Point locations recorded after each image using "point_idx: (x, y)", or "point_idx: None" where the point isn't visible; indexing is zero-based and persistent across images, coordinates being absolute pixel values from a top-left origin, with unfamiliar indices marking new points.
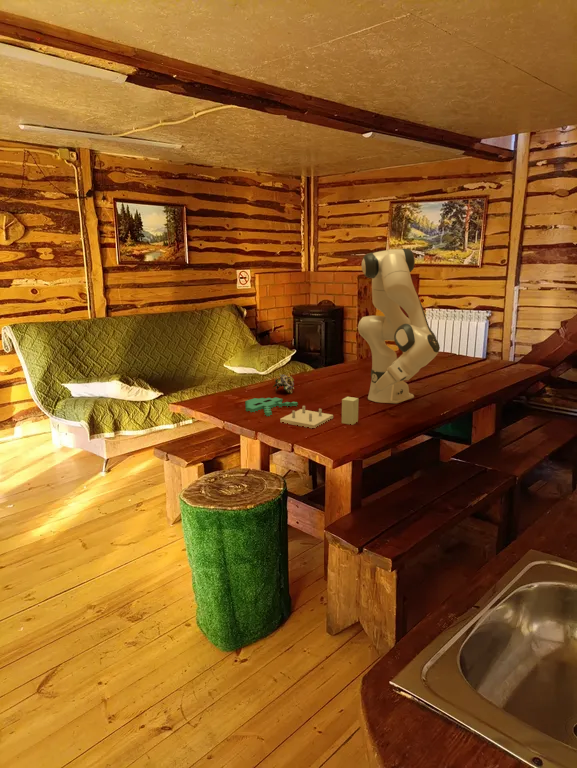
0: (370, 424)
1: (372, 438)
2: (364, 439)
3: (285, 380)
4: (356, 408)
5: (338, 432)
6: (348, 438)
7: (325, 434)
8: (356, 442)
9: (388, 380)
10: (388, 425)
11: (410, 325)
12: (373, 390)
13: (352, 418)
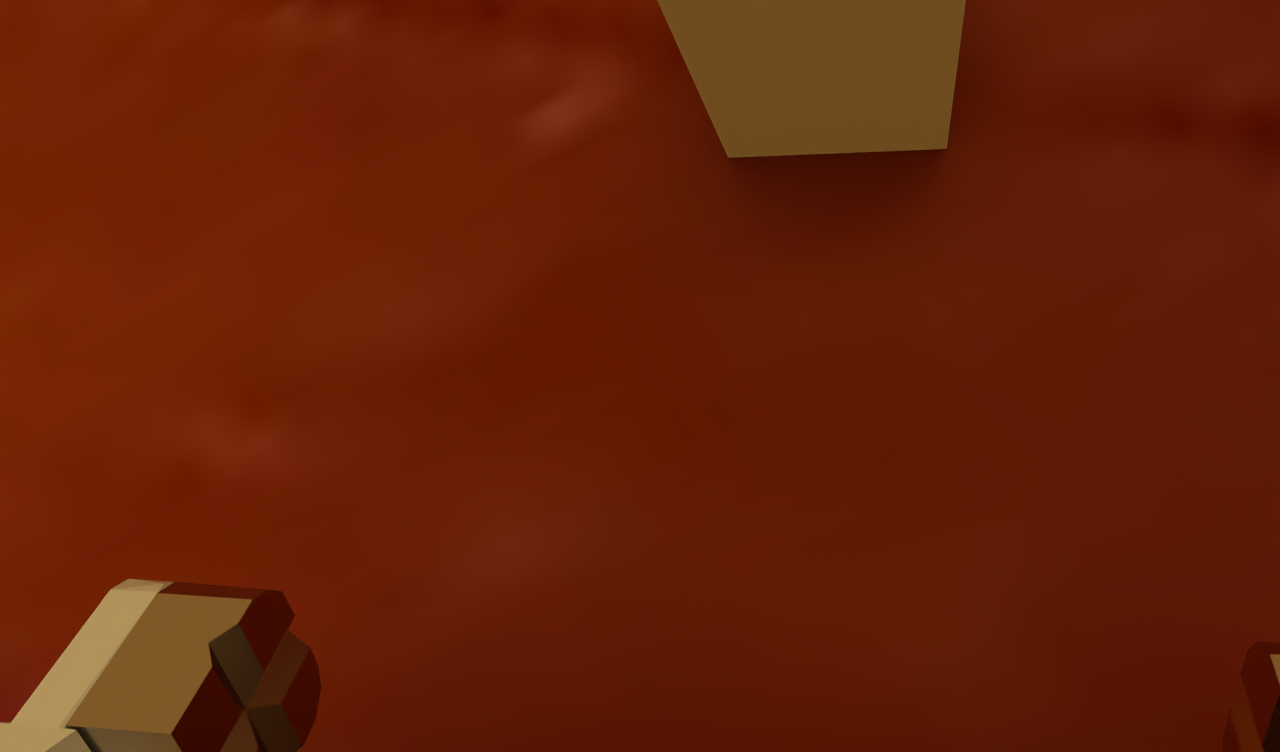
0: (916, 407)
1: None
2: None
3: None
4: (862, 37)
5: (307, 152)
6: (149, 392)
7: (162, 47)
8: (55, 560)
9: None
10: (1046, 729)
11: None
12: (83, 648)
13: (710, 111)
